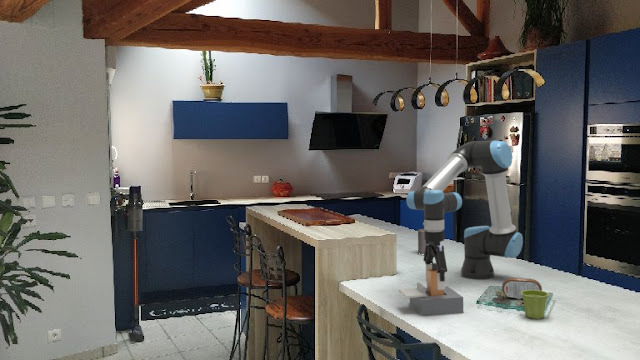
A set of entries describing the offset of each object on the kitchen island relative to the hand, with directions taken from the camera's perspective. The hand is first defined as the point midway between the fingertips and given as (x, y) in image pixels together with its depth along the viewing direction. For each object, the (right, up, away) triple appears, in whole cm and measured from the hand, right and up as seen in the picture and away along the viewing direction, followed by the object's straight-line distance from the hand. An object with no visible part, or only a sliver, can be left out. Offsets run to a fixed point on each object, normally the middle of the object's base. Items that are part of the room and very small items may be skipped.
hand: (435, 284), depth 217 cm
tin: (+37, -8, +9) cm, 38 cm away
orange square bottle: (0, -7, +1) cm, 7 cm away
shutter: (-9, -3, -1) cm, 10 cm away
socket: (0, -9, +1) cm, 9 cm away
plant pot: (+33, -9, -13) cm, 37 cm away
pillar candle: (+16, -1, +100) cm, 102 cm away
